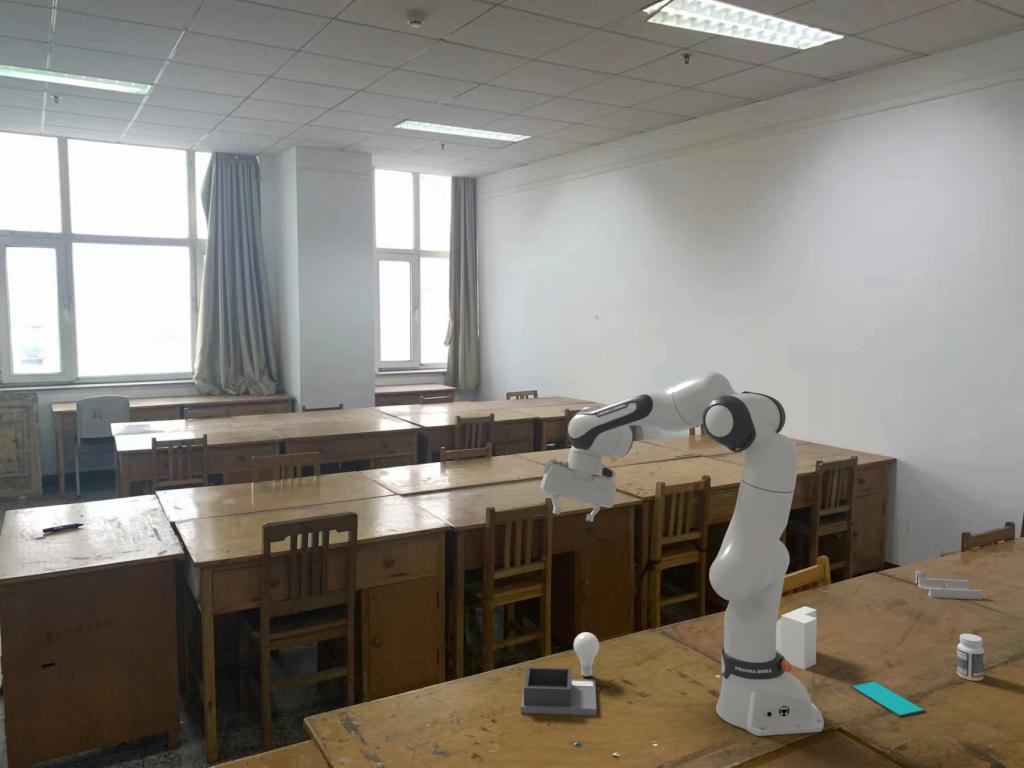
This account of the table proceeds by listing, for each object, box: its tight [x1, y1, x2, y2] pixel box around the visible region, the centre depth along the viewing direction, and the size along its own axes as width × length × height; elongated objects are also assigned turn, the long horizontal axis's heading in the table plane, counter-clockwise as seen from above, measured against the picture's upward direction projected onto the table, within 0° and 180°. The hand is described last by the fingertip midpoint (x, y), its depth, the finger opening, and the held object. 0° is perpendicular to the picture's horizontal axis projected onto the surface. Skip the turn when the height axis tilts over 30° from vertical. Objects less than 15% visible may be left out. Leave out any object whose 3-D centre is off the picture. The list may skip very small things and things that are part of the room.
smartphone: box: [849, 680, 925, 718], centre depth 172 cm, size 7×1×15 cm
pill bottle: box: [956, 633, 985, 682], centre depth 182 cm, size 6×6×10 cm
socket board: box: [520, 666, 597, 716], centre depth 173 cm, size 17×14×6 cm
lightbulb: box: [573, 631, 600, 678], centre depth 185 cm, size 6×6×11 cm
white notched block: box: [776, 605, 818, 670], centre depth 194 cm, size 11×11×12 cm
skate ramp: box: [914, 569, 983, 601], centre depth 242 cm, size 15×13×5 cm
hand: (572, 517), depth 196 cm, fingers open, 8 cm apart
